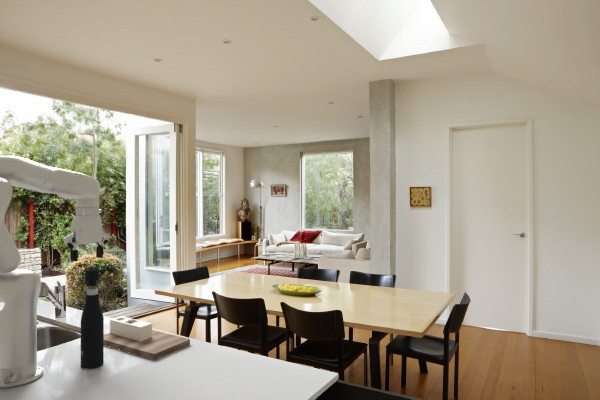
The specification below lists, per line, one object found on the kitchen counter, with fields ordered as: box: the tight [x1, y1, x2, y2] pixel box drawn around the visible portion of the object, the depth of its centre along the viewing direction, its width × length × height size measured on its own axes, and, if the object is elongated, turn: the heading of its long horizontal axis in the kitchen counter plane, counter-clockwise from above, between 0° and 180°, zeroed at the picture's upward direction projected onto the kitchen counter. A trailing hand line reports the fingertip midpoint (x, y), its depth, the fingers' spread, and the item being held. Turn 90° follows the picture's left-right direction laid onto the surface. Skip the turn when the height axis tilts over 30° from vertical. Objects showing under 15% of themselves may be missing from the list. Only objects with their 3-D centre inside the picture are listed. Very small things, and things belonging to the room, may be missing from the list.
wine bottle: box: [80, 268, 105, 370], centre depth 129 cm, size 6×6×30 cm
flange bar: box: [109, 315, 153, 341], centre depth 151 cm, size 17×5×5 cm, turn 61°
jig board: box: [104, 318, 191, 361], centre depth 148 cm, size 30×16×8 cm, turn 61°
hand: (87, 259), depth 152 cm, fingers open, 9 cm apart
